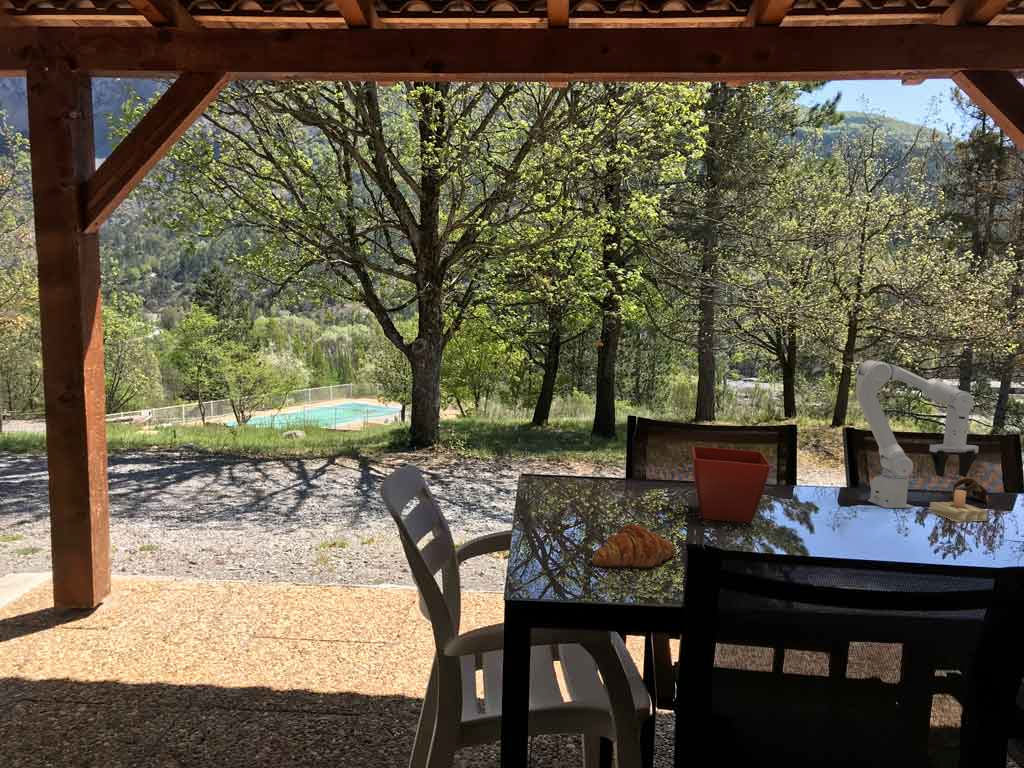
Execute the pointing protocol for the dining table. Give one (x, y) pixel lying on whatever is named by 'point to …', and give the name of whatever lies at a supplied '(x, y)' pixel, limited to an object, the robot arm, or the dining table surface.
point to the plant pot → (729, 482)
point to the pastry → (633, 549)
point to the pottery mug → (971, 488)
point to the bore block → (958, 512)
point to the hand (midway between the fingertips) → (951, 476)
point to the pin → (959, 499)
